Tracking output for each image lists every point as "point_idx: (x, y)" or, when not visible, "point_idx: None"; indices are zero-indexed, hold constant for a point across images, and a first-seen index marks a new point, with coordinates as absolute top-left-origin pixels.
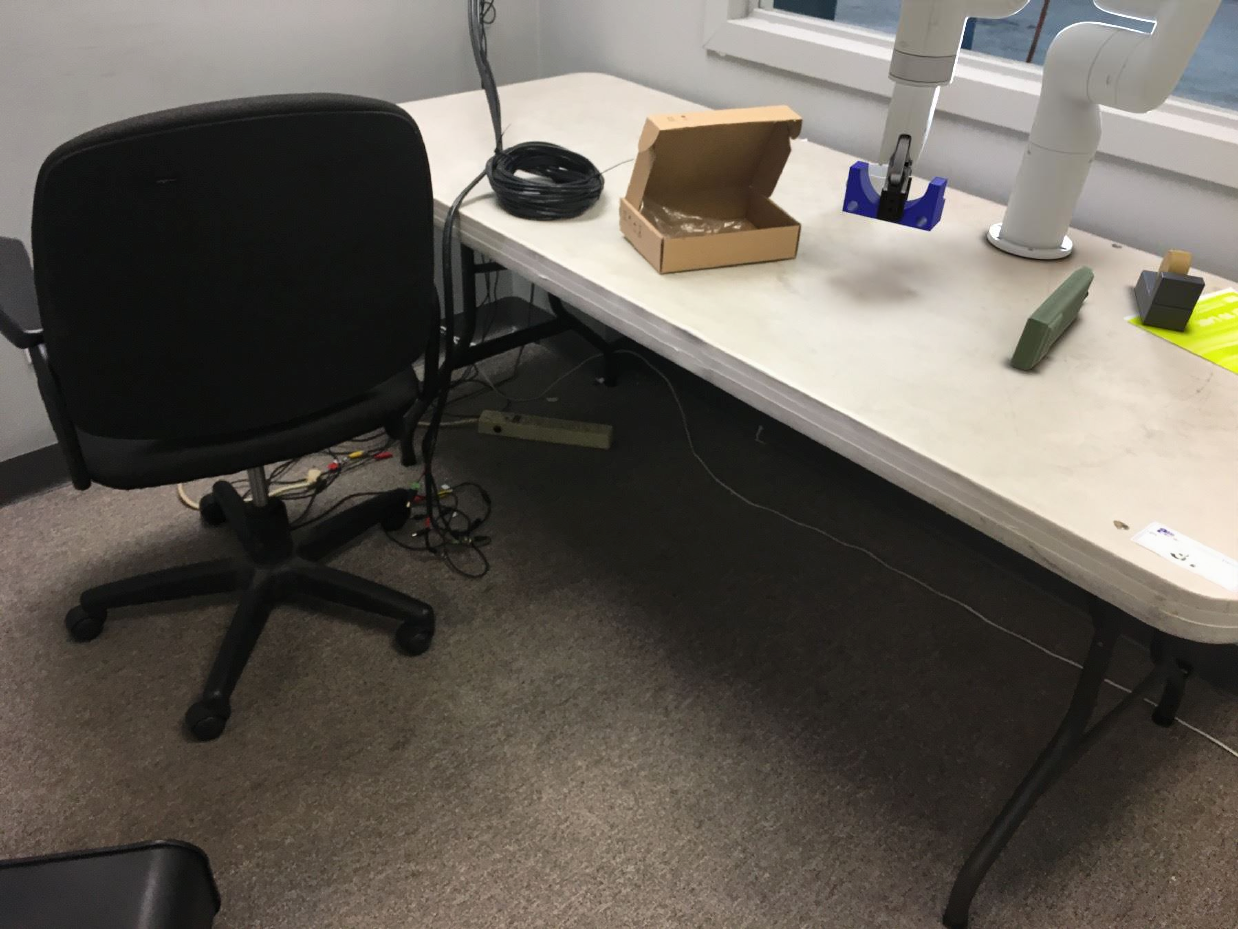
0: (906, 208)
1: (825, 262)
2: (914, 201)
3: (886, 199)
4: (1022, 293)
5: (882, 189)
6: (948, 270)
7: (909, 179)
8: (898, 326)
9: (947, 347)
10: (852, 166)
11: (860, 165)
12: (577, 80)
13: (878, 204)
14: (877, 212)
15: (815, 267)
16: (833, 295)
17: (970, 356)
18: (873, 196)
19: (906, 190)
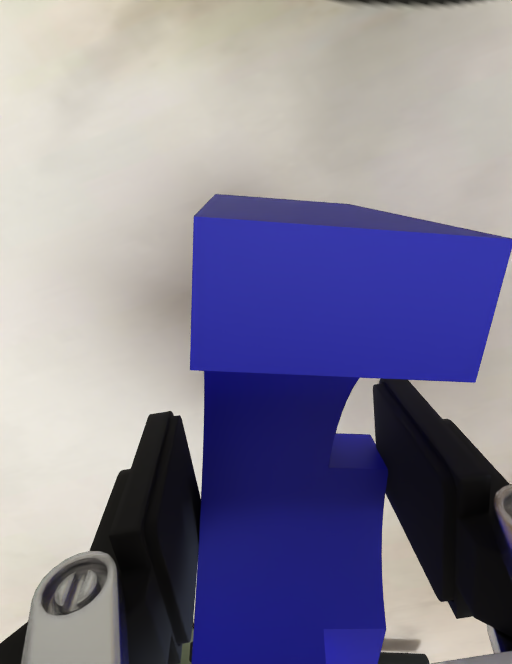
0: (207, 565)
1: (363, 121)
2: (329, 570)
3: (100, 534)
4: (408, 572)
5: (109, 538)
6: (465, 433)
7: (449, 599)
8: (74, 425)
9: (52, 526)
10: (236, 243)
11: (327, 325)
12: None
13: (234, 415)
14: (145, 430)
15: (305, 103)
16: (135, 229)
17: (47, 565)
18: (280, 382)
19: (411, 537)
